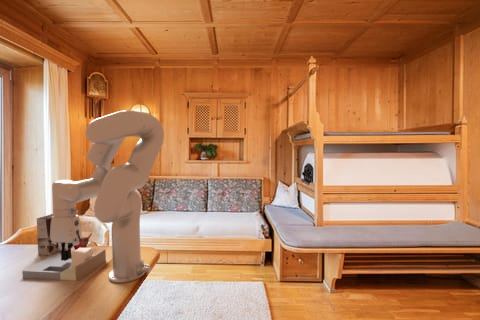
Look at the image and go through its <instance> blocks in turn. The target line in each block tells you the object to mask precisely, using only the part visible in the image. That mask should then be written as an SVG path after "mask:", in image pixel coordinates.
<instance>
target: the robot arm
mask: <svg viewBox="0 0 480 320" xmlns="http://www.w3.org/2000/svg"><path fill="white" fill-rule="evenodd" d="M85 136H86V139H87V140H88V142H90V143H91V146H90V147H89V149H88V151H87V153H86V159H87V160H88V161H89V163H92V164H93V165H94V166H95V168H94V170H93V173H92V174H91V176H90V178H87V179H82V180H77V181H74V180H73V179H72V180H71V179H59V180H55V181H53V182H52V185H51V192H52V193H51V195H52V198H51V199H52V214H53V217H52V219H51V226H50V238H51V241H52V244H55V245H57V246H58V247H59V250H60V253H61V260H62V261H63V260H64V261H66V260H68V259H70V258H71V253H72V248H74V246H75V245H78V244H79V243H80V242H79V239H81V238H82V235H83V234H82V225H81V219H80V216H79V210H78V209H77V203H80V202H83V201H86V200H89V199H90V200H91V199H93V198H96V199H95V201H94V205H93V206H94V207H93V211H94V215H95V217H96V219H97V220H98V221H99V222H101V223H105V224H110V223H111V250H112V251H111V252H112V253H111V254H112V270H111V271H109V273H108V280H109V281H110V282H112V283H118V284H119V283H121V284H122V283H128V282H133V281H136V280H138V279H141V278H142V277H143V276H144V275H145V273H151V270H152V267H151V264H148V263H147V264H146V263H144V260H143V259H142V258H141V256H142V255H141V253H142V252H141V230H140V229H141V227H140V226H141V225H140V224H141V219H140V218H141V212H142V197H141V196H140V193H138V192H137V190H140V189H142V188H143V187H145V185H146V184H147V183H148V181H149V178H150V175H151V174H152V170H153V169H154V165H155V163H156V161H157V158H158V155H159V153H160V151H161V149H162V147H163V144H164V140H165V130H164V126H163V125H162V123H161V122H160V120H159V119H158V118H157V117H156V116H154V115H152V114H150V113H147V112H143V111H142V112H141V111H135V110H129V109H125V110H124V109H123V110H119V111H116V112H113V113H109V114H107V115H104V116H101V117H98V118H95V119H93V120H91V121H90V122H89V123H88V125H87V126H86V128H85ZM127 137H129V138H130V137H137V138H139V140H138V141H137V142H136V144H135V145H134V147H133V148H132V150H131V154H130V156H129V158H128V160H127V162H126V163H123V164H117V165H115V166H113V167H112V166H111V164H112V162H113V160H114V159H115V157H116V155H117V153H118V152H119V149H120V148H121V146H122V144H123V142H124V140H126V138H127Z"/></svg>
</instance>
